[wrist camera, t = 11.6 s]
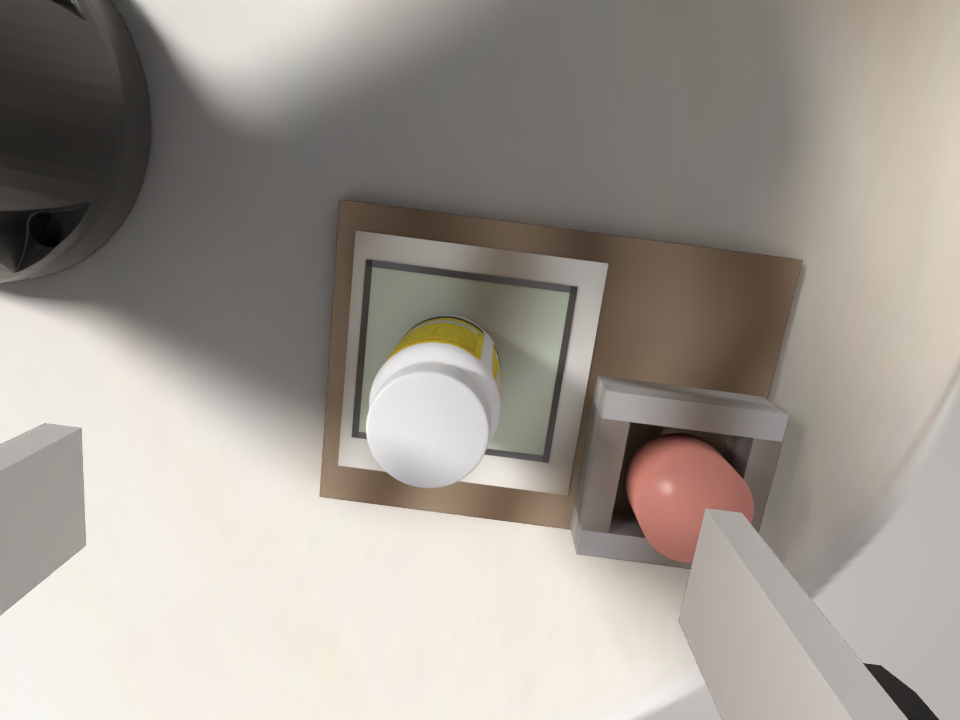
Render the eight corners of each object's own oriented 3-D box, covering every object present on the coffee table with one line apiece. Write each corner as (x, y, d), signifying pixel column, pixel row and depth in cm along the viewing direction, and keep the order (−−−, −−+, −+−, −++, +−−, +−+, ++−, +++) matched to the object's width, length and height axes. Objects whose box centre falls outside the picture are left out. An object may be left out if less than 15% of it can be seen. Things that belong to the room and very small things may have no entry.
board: (323, 490, 30) (303, 522, 27) (343, 200, 27) (323, 198, 23) (724, 542, 30) (750, 580, 27) (795, 258, 27) (834, 265, 23)
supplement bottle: (374, 353, 27) (321, 412, 19) (459, 292, 26) (441, 327, 18) (438, 434, 28) (413, 525, 20) (521, 378, 27) (531, 449, 19)
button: (616, 518, 27) (630, 555, 24) (634, 426, 26) (651, 453, 23) (713, 531, 27) (739, 569, 24) (735, 439, 26) (765, 468, 23)
